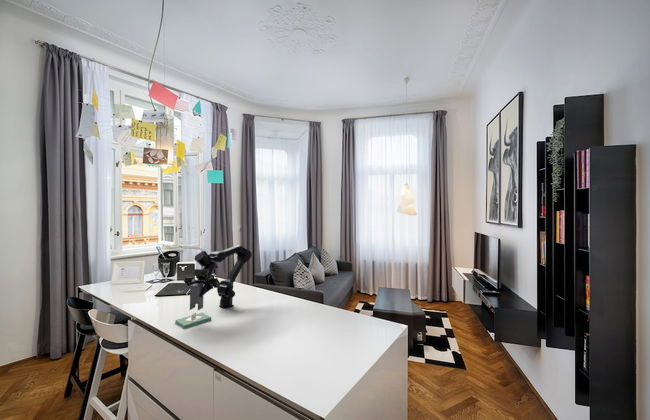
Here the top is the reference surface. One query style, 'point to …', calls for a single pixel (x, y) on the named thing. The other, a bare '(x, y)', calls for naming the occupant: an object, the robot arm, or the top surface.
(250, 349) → the top surface
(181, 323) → the board
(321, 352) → the top surface
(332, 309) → the top surface
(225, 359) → the top surface
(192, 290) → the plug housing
